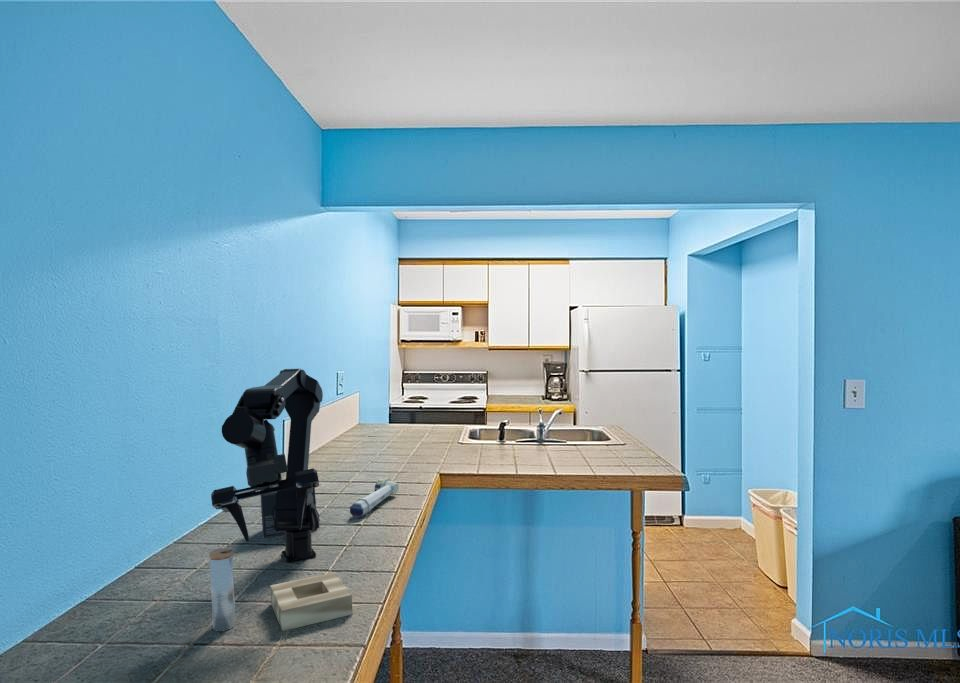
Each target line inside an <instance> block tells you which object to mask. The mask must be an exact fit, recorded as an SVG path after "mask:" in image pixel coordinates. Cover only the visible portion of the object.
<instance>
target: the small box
mask: <svg viewBox="0 0 960 683" xmlns="http://www.w3.org/2000/svg"><path fill="white" fill-rule="evenodd" d="M277 486H278V485H273V486H272V487H277ZM263 490H264V489H263ZM259 491H261V490H259ZM276 493H277V491H276V492H272V493H268V494H263V495H260V509H261V510H260V511H261V526H262V537H263V538H264V539H266V538H271V537H272V538H273V537H279V535H280V536H285V531H277V532H276V529H275V524H274V519H273V507H274V505H275V502H276ZM312 495H313V503H314V505H315V507H316V508H317V505H316V504H317V503H316V502H317V500H316V487H315V488H313V492H312ZM318 529H319V528H317V529H314V530H313V531H317V530H318Z"/></svg>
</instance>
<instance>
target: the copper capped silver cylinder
mask: <svg viewBox="0 0 960 683" xmlns="http://www.w3.org/2000/svg"><path fill="white" fill-rule="evenodd" d="M233 556H234V555H233V549H232V548H230V547H222V548H217V549H213V550H211V551H210V552H209V569H210V570H209V572H210V593H211V594H210V595H211V613H212V614H211V617H212V630H213V629H214V630H217V631H222V632H226V631H225V630H227V631H229V630H228V629H230V630H232V629H233V628H235V627H236V625H235V624H236V603H235V586H234V584H235V582H234V562H233ZM234 626H235V627H234ZM232 627H233V628H232ZM231 628H232V629H231ZM214 630H213V631H214ZM223 630H224V631H223ZM217 631H216V632H217Z"/></svg>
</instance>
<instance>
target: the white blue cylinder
mask: <svg viewBox="0 0 960 683" xmlns="http://www.w3.org/2000/svg"><path fill="white" fill-rule="evenodd" d="M398 491H399V484H398V483H397V482H395V481H392V480H391V478H389V477H386V478H379V479H377V482H375V485H374V492H372V493H370V494H368V495H366V496H364V497H363V498H361V497H360V498H358V499H356V501H355V502H354V503H353V504H352V505H351V506H350V507H349V513H350V514H351V516H352V517H353V518H357V519H358V518H360V517H362V516H366V515H367V514H368V513H369V512H370V511H371V510H372V509H373V508H375V507H376V506H377V505H378V504H381V502H382V501H384V500H385V499H386V498H388V497H389V496H394V495H396V494H397V493H398Z"/></svg>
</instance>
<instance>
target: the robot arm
mask: <svg viewBox="0 0 960 683" xmlns="http://www.w3.org/2000/svg"><path fill="white" fill-rule="evenodd" d="M323 394H324V393H323V388H322V386H321V384H320V383H319V381H318V379H315V378H314V377H312V376H310V375H308V374H307V373H306V371H305V370H304V369H301V368H284V369H282V370H280V371H279V374H278V375H276V376H275V377H273V378H272V379H271V380H269V382H267V383H266V384H265V385H261V386H253V387H250V388H249V387H248V388H247V389H245V390H244V391H243V392H242V395H241V396H240V398H239V400H238V402H237V404H236V406H235V407H234V410H233V412H232V413H231V414H230V415H229V416H228V417H226V419H225V420H224V422H223V424H222V425H221V434H222V437H223V439H224V440H225V441H226V442H227V443H229V444H232V445H234V446H237V447H238V448H242V449H244V454H245V460H246V472H245V473H246V479H247V486H249V487H245V488H239V489H237V488H236V487H235V486H234V485H231V486H227V487H223V488H218V489H214V490H213V491H212V492H211V494H210V496H211V497H210V499H211V506H212V507H213V508H214V509H216V510H222V511H223V512H224V513H230V514H231V516H232V518H233V519H234V521H235V522H236V524H237V526H238V528H239V530H240V533H241V534H242V537H243V539H244V540H245V542H246V543H250V536H249V532H248V531H249V530H248V528H247V524H246V520H245V519H246V518H245V516H244V511H243V509H242V506H241V504H239V501H240V500H244V499H245V500H246V499H249V498H253V497H254V498H255V497H257V496H258V497H259V496H261V495H263V494H268V493H272V492H276V491H277V493H276V502H275V505H274V507H273V519H274V524H275V529H276V532H277V531H285V535H284V548H285V550H282V551H281V555H282V556H283V558H284V560H285V562H287V563H288V562H294V561H300V560H305V559H310V558H314V557H317V553H316V552H315V550H314V549H313V546H312V545H313V544H312V531H315V530H314V529H317V528H318V529H319V528H320V521H321V519H320V513H319V512H318V509H317V506H316V507H315V505H314V503H313V495H312V492H313V488H315V489H316V488H318V487H320V481H319V475H318V470H317V469H315V468H313V467H312V468H309V461H310V460H309V459H310V447H311V444H310V443H311V433H312V432H311V431H312V423H313V420H314V419H315V417H316V416H317V414H318V413H319V412H320V409H321V403H322V402H323V396H324V395H323ZM284 409H285V411H286V413H287V415H288V416H289V419H290V424H289V435H288V436H289V438H288V447H287V448H288V449H287V458H286V454H285V453H281V454H278V448H277V440H276V436H275V435H276V434H275V431H276V430H275V427H274V425H273V424H272V423H270V421H268V420H276V419H277V418H279V417H280V415H281V414H282V413H283V412H284ZM282 473H283V474H284V473H285V479H283V478H282ZM273 485H278V486H277V487H272V486H273ZM263 489H264V490H263ZM260 490H261V491H260ZM318 529H317V530H318Z"/></svg>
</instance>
